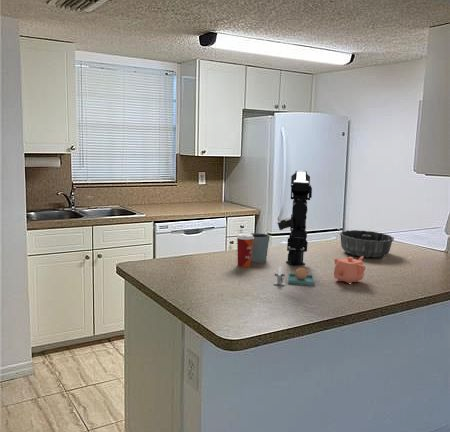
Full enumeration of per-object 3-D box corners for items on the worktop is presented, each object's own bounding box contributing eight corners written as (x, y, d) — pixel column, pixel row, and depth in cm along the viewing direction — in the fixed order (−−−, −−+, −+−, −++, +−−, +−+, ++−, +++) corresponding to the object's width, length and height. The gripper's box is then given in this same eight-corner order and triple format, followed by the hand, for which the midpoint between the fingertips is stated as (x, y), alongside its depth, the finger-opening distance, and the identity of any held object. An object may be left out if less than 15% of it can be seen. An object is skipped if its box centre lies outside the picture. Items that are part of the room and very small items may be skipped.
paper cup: (251, 268, 208) (252, 237, 206) (234, 267, 209) (235, 235, 207) (253, 264, 215) (255, 233, 213) (237, 262, 217) (238, 232, 215)
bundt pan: (397, 253, 247) (399, 234, 246) (384, 263, 225) (386, 243, 224) (348, 246, 261) (349, 228, 260) (331, 254, 239) (332, 235, 237)
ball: (302, 277, 195) (302, 265, 195) (309, 280, 191) (310, 268, 190) (292, 278, 193) (292, 266, 192) (299, 282, 188) (300, 269, 188)
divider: (275, 273, 201) (275, 264, 200) (284, 274, 200) (285, 265, 200) (273, 285, 185) (274, 275, 185) (284, 285, 185) (284, 275, 184)
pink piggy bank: (364, 288, 186) (366, 262, 184) (333, 285, 188) (335, 260, 186) (361, 278, 199) (363, 254, 198) (332, 275, 202) (334, 252, 200)
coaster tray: (288, 276, 198) (288, 273, 197) (313, 278, 196) (313, 274, 196) (288, 283, 188) (288, 280, 187) (314, 285, 186) (314, 282, 186)
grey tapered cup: (243, 261, 220) (244, 235, 218) (250, 256, 229) (251, 232, 227) (264, 264, 216) (265, 238, 214) (270, 259, 226) (272, 234, 224)
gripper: (279, 207, 203) (277, 243, 206) (279, 215, 184) (276, 254, 187) (305, 209, 201) (303, 245, 204) (308, 217, 183) (305, 256, 186)
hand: (297, 250), depth 196 cm, fingers open, 9 cm apart
